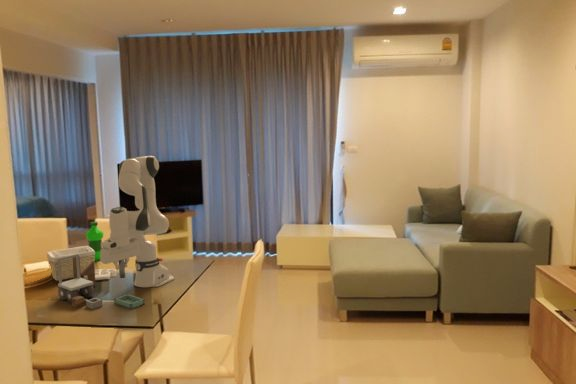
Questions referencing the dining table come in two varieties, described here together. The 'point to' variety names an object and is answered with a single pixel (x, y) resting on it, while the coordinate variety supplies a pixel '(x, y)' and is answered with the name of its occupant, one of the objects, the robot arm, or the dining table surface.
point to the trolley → (77, 286)
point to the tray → (129, 301)
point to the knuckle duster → (103, 274)
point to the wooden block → (85, 271)
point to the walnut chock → (77, 301)
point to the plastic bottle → (95, 239)
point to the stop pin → (121, 268)
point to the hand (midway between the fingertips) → (121, 268)
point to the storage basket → (69, 260)
